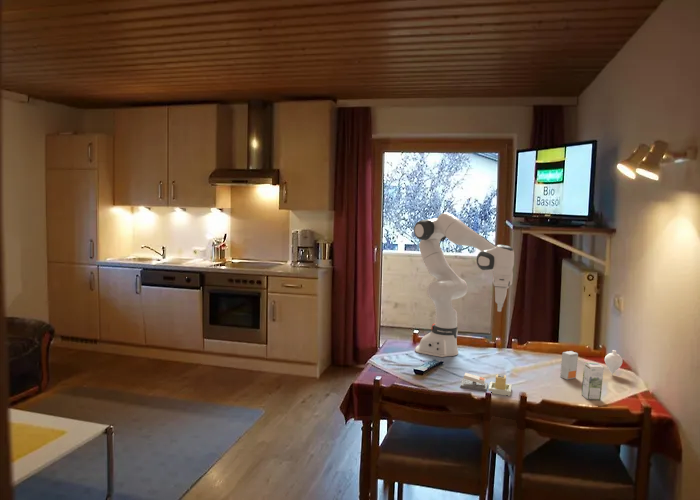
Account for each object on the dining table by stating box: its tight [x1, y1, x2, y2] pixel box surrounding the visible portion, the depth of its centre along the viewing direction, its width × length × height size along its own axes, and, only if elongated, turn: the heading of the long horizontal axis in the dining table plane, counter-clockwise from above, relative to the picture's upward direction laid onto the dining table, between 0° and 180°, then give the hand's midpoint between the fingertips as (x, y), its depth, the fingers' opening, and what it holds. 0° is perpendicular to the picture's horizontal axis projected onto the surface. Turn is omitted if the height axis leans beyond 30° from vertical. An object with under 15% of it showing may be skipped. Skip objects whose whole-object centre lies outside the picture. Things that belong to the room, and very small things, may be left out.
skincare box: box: [559, 350, 579, 380], centre depth 254 cm, size 6×4×12 cm
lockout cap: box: [494, 374, 507, 390], centre depth 234 cm, size 4×4×6 cm
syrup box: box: [581, 362, 605, 401], centre depth 230 cm, size 6×6×14 cm
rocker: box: [462, 372, 487, 384], centre depth 239 cm, size 9×4×2 cm, turn 71°
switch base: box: [459, 379, 489, 392], centre depth 239 cm, size 11×8×2 cm
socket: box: [487, 381, 513, 397], centre depth 235 cm, size 9×9×2 cm
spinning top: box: [604, 349, 624, 376], centre depth 260 cm, size 8×8×12 cm
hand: (500, 309), depth 256 cm, fingers open, 8 cm apart
